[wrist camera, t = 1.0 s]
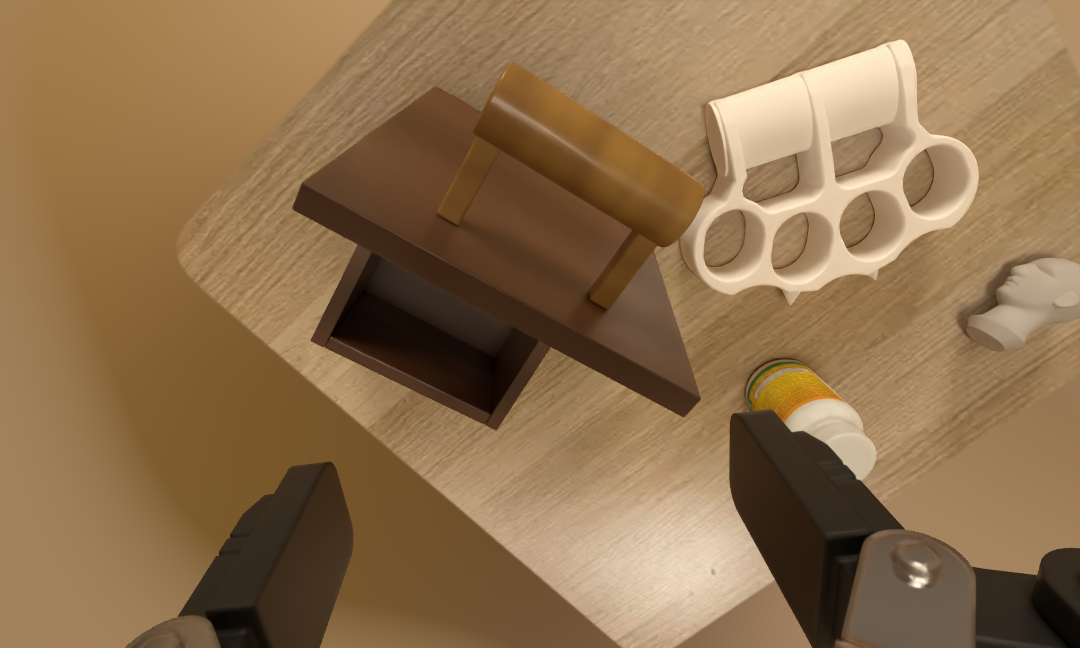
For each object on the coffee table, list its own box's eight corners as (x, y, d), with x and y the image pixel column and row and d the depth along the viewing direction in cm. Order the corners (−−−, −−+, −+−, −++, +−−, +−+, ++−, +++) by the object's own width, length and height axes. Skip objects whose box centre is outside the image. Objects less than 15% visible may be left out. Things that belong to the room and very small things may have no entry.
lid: (684, 418, 16) (818, 275, 14) (290, 209, 14) (375, -7, 11) (632, 225, 30) (696, 135, 27) (428, 100, 27) (479, -10, 25)
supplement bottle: (827, 384, 44) (906, 457, 35) (774, 431, 46) (837, 513, 37) (781, 342, 43) (853, 407, 34) (727, 392, 44) (783, 467, 35)
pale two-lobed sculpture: (1041, 240, 42) (1076, 301, 42) (937, 298, 43) (971, 356, 43) (1091, 237, 38) (1130, 305, 38) (974, 301, 39) (1012, 366, 39)
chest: (499, 366, 42) (496, 431, 34) (351, 291, 40) (310, 341, 32) (608, 191, 38) (635, 217, 30) (451, 93, 36) (433, 93, 27)
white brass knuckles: (934, 24, 36) (947, 248, 41) (649, 119, 37) (697, 324, 42) (975, 17, 32) (983, 260, 38) (662, 121, 34) (712, 342, 39)
